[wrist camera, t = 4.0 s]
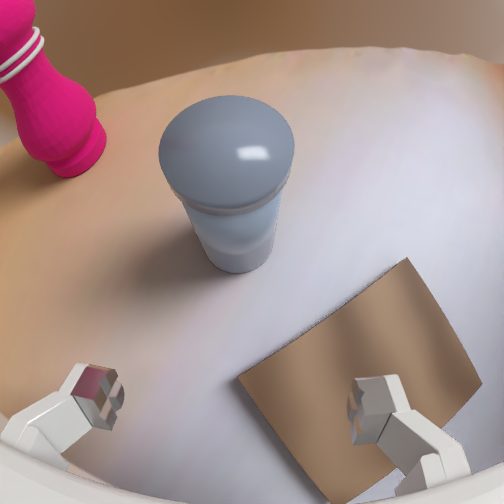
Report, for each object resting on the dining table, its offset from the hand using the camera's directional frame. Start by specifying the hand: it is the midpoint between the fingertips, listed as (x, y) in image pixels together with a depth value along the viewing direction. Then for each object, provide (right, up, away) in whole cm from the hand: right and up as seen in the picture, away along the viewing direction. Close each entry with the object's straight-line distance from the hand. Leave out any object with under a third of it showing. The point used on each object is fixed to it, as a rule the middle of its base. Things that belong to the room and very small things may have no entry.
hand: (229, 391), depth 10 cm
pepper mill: (-16, +14, +16) cm, 26 cm away
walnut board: (+9, -5, +10) cm, 14 cm away
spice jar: (0, +6, +13) cm, 14 cm away
